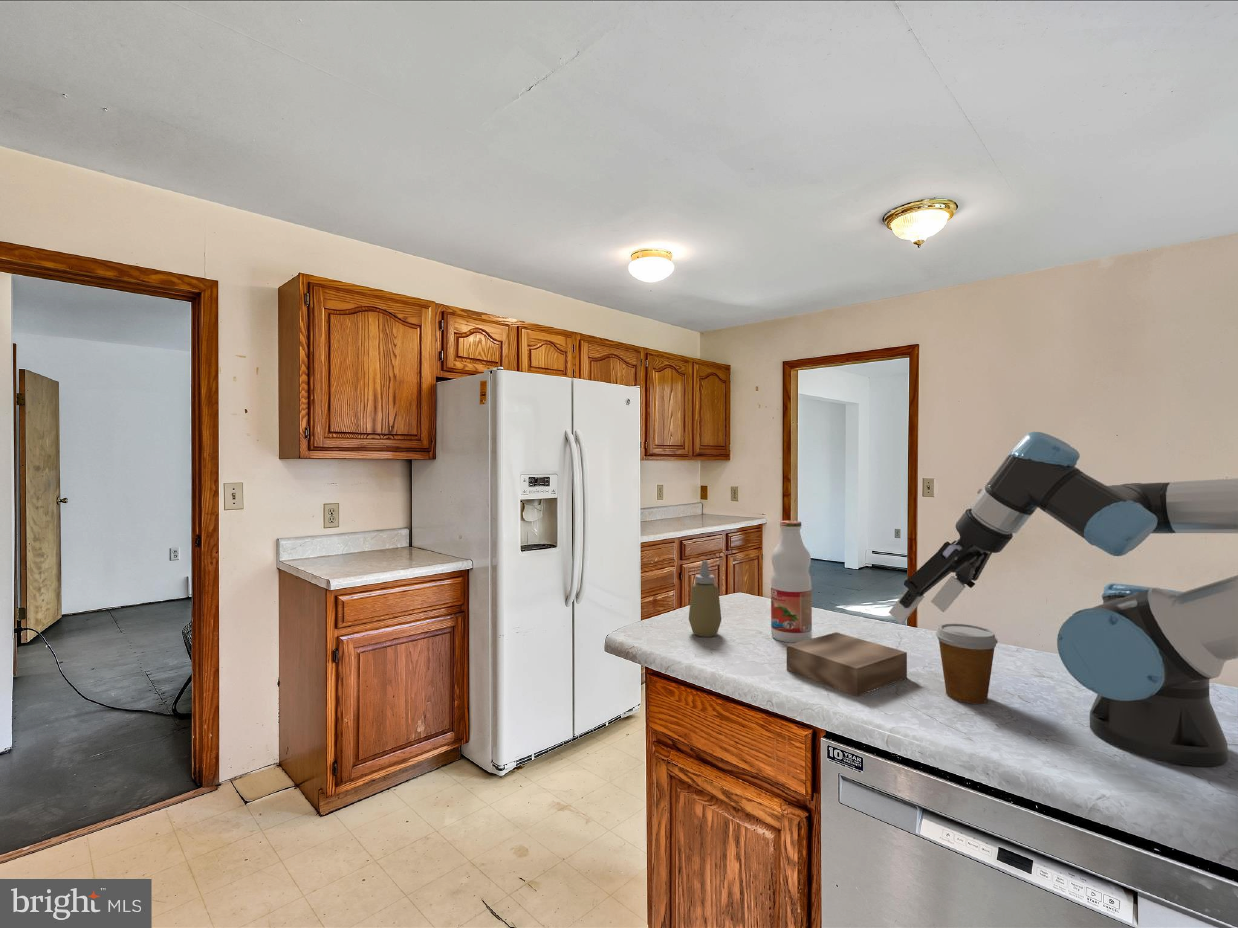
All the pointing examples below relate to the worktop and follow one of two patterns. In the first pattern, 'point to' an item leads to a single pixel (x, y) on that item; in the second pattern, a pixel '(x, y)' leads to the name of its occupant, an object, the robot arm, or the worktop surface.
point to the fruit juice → (791, 587)
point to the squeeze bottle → (704, 604)
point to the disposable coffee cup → (966, 660)
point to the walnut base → (847, 663)
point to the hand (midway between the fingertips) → (917, 612)
